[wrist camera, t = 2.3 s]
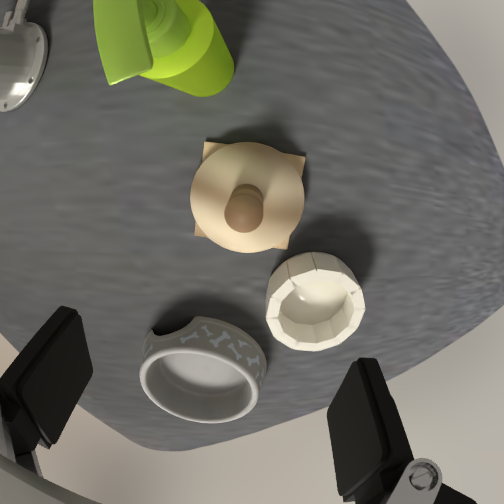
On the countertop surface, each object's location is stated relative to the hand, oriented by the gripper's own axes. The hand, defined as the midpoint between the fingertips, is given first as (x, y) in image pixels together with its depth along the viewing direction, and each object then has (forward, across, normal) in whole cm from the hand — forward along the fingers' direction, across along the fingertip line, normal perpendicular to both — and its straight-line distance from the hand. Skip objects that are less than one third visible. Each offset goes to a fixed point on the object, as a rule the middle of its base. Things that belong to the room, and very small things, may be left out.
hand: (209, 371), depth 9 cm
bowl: (+24, -9, +10) cm, 27 cm away
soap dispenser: (+24, +6, -12) cm, 27 cm away
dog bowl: (+24, +3, +25) cm, 35 cm away
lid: (+23, 0, 0) cm, 23 cm away
